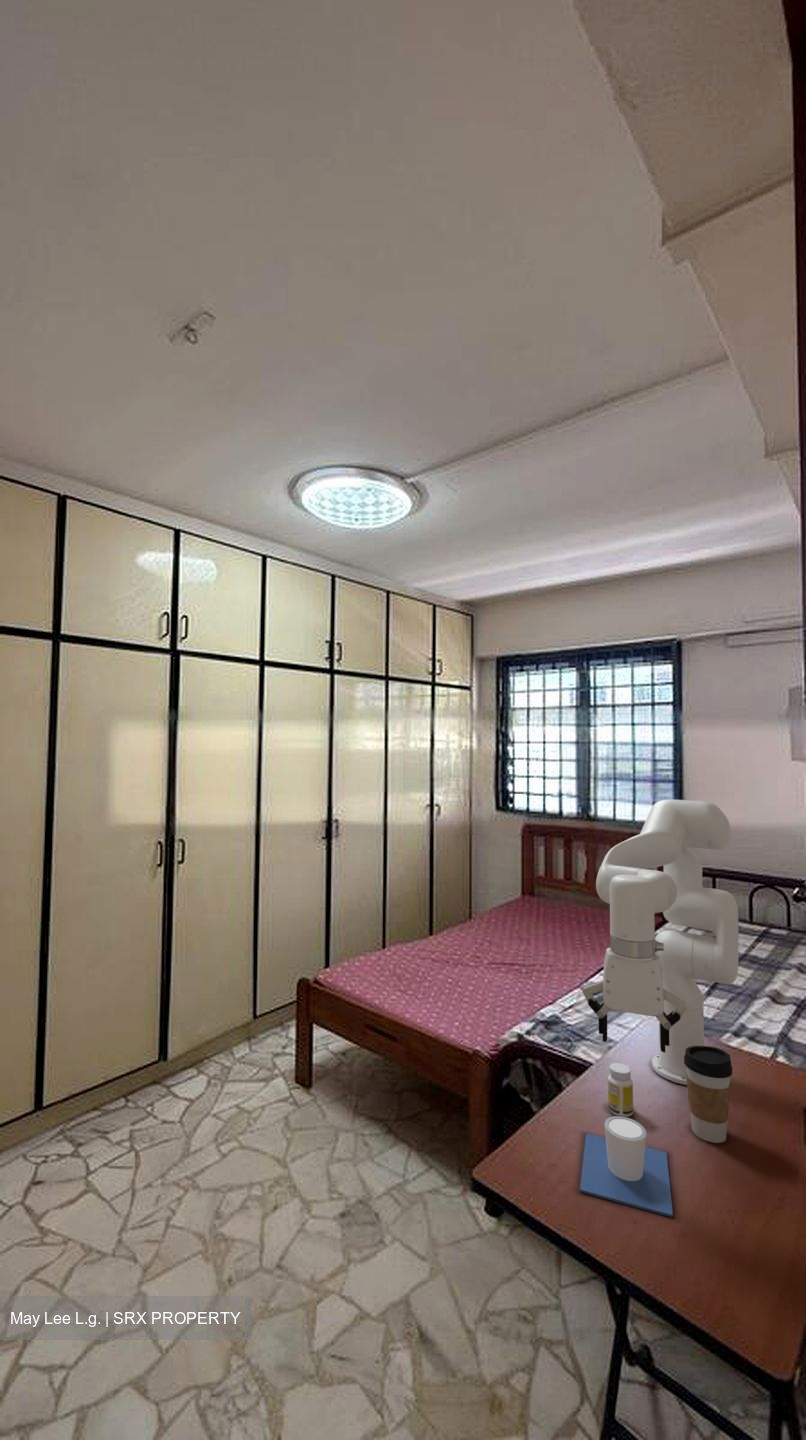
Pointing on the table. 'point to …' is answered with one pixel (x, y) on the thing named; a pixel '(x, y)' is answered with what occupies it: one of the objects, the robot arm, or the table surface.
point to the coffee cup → (708, 1091)
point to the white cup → (625, 1147)
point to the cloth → (640, 1193)
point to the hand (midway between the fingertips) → (633, 1043)
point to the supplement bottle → (620, 1090)
